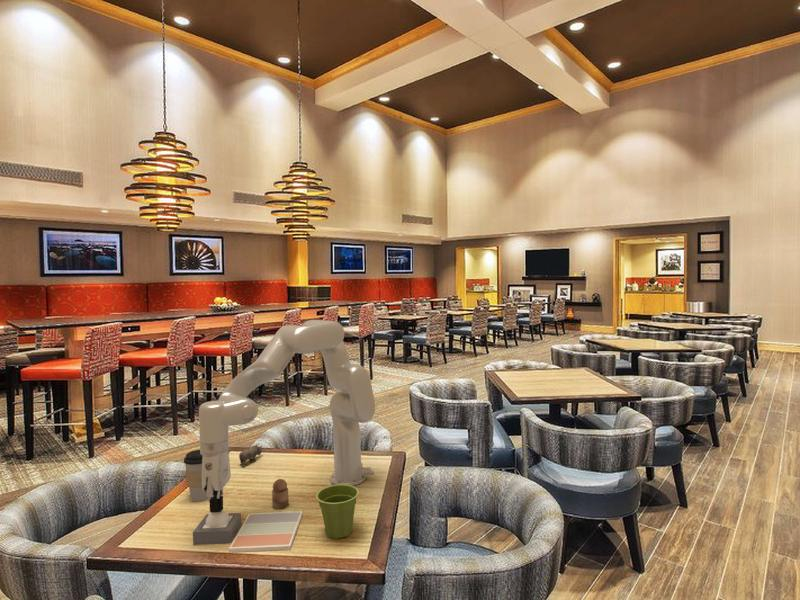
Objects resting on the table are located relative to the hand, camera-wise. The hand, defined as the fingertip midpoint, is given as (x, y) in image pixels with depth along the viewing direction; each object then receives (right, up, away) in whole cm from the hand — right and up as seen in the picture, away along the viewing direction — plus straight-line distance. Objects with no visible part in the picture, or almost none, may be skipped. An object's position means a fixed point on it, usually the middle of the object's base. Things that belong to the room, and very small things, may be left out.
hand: (216, 510), depth 132 cm
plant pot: (+34, -6, 0) cm, 35 cm away
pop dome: (0, -6, 0) cm, 6 cm away
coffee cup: (-15, -7, +24) cm, 29 cm away
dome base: (0, -7, 0) cm, 7 cm away
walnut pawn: (+14, -6, +17) cm, 23 cm away
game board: (+14, -6, +1) cm, 16 cm away
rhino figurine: (-8, -6, +56) cm, 57 cm away
